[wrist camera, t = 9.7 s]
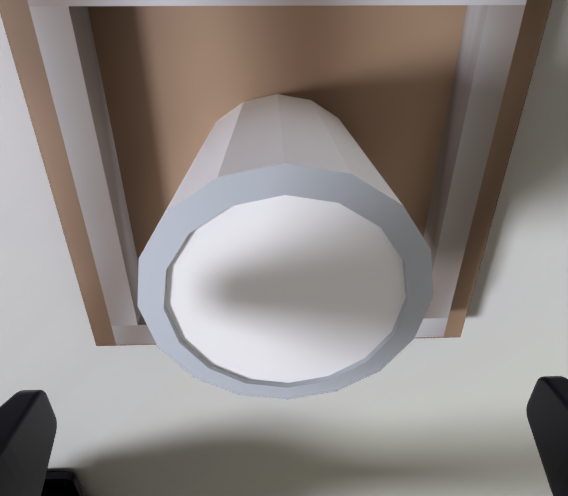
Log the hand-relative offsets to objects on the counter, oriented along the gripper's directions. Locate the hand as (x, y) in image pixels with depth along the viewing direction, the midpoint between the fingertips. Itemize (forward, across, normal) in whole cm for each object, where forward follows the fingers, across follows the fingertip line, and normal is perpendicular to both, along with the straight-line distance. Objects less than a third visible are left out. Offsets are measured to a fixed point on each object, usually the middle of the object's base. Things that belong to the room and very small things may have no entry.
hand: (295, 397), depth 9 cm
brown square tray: (+11, 0, 0) cm, 11 cm away
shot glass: (+10, 0, 0) cm, 10 cm away
